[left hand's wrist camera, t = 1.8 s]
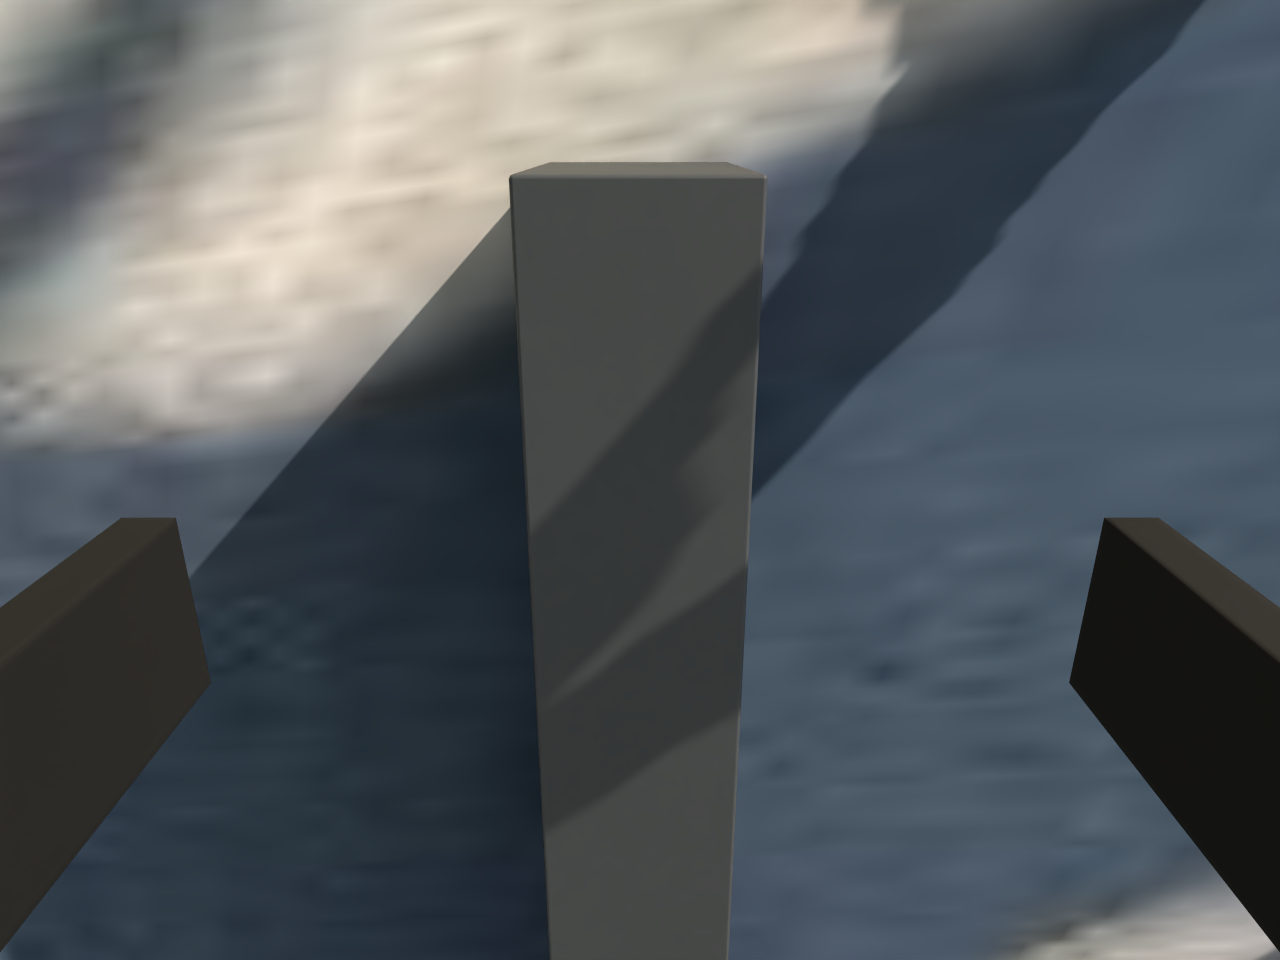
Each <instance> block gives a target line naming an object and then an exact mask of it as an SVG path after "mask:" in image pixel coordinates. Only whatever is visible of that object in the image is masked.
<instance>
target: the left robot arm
mask: <svg viewBox="0 0 1280 960" xmlns="http://www.w3.org/2000/svg"><path fill="white" fill-rule="evenodd" d="M210 683H211V682H210V677H209V672H208V667H207V663H206V658H205V653H204V649H203V644H202V639H201V635H200V630H199V625H198V620H197V616H196V611H195V606H194V602H193V597H192V592H191V587H190V583H189V578H188V573H187V569H186V564H185V559H184V555H183V550H182V545H181V540H180V536H179V531H178V526H177V522H176V518H121V519H119V520H118V521H117V522H115V523H114V524H113V525H111V526H110V527H108V528H107V529H106V530H104V531H103V532H102V533H100V534H99V535H98V536H96V537H95V538H94V539H92V540H91V541H90V542H88V543H87V544H86V545H84V546H83V547H82V548H80V549H79V550H77V551H76V552H75V553H73V554H72V555H71V556H69V557H68V558H67V559H65V560H64V561H63V562H61V563H60V564H59V565H57V566H56V567H55V568H53V569H52V570H51V571H49V572H48V573H46V574H45V575H44V576H42V577H41V578H40V579H38V580H37V581H36V582H34V583H33V584H32V585H30V586H29V587H28V588H26V589H25V590H24V591H22V592H21V593H19V594H18V595H17V596H15V597H14V598H13V599H11V600H10V601H9V602H7V603H6V604H5V605H3V606H2V607H1V608H0V952H1V951H2V949H3V948H4V947H5V945H6V944H7V943H8V942H9V940H10V939H11V938H12V936H13V935H14V934H15V933H16V931H17V930H18V929H19V927H20V926H21V925H22V924H23V922H24V921H25V920H26V919H27V917H28V916H29V915H30V913H31V912H32V911H33V910H34V908H35V907H36V906H37V904H38V903H39V902H40V901H41V899H42V898H43V897H44V895H45V894H46V893H47V892H48V890H49V889H50V888H51V887H52V885H53V884H54V883H55V881H56V880H57V879H58V878H59V876H60V875H61V874H62V872H63V871H64V870H65V869H66V867H67V866H68V865H69V863H70V862H71V861H72V860H73V858H74V857H75V856H76V855H77V853H78V852H79V851H80V849H81V848H82V847H83V846H84V844H85V843H86V842H87V840H88V839H89V838H90V837H91V835H92V834H93V833H94V831H95V830H96V829H97V828H98V826H99V825H100V824H101V823H102V821H103V820H104V819H105V817H106V816H107V815H108V814H109V812H110V811H111V810H112V808H113V807H114V806H115V805H116V803H117V802H118V801H119V799H120V798H121V797H122V796H123V794H124V793H125V792H126V791H127V789H128V788H129V787H130V785H131V784H132V783H133V782H134V780H135V779H136V778H137V776H138V775H139V774H140V773H141V771H142V770H143V769H144V767H145V766H146V765H147V764H148V762H149V761H150V760H151V759H152V757H153V756H154V755H155V753H156V752H157V751H158V750H159V748H160V747H161V746H162V744H163V743H164V742H165V741H166V739H167V738H168V737H169V735H170V734H171V733H172V732H173V730H174V729H175V728H176V727H177V725H178V724H179V723H180V721H181V720H182V719H183V718H184V716H185V715H186V714H187V712H188V711H189V710H190V709H191V707H192V706H193V705H194V704H195V702H196V701H197V700H198V698H199V697H200V696H201V695H202V693H203V692H204V691H205V689H206V688H207V687H208V686H209V684H210ZM1069 683H1070V684H1071V686H1072V687H1073V688H1074V689H1075V691H1076V692H1077V693H1078V695H1079V696H1080V697H1081V698H1082V700H1083V701H1084V702H1085V704H1086V705H1087V706H1088V707H1089V709H1090V710H1091V711H1092V712H1093V714H1094V715H1095V716H1096V718H1097V719H1098V720H1099V721H1100V723H1101V724H1102V725H1103V727H1104V728H1105V729H1106V730H1107V732H1108V733H1109V734H1110V736H1111V737H1112V738H1113V739H1114V741H1115V742H1116V743H1117V744H1118V746H1119V747H1120V748H1121V750H1122V751H1123V752H1124V753H1125V755H1126V756H1127V757H1128V759H1129V760H1130V761H1131V762H1132V764H1133V765H1134V766H1135V767H1136V769H1137V770H1138V771H1139V773H1140V774H1141V775H1142V776H1143V778H1144V779H1145V780H1146V782H1147V783H1148V784H1149V785H1150V787H1151V788H1152V789H1153V791H1154V792H1155V793H1156V794H1157V796H1158V797H1159V798H1160V799H1161V801H1162V802H1163V803H1164V805H1165V806H1166V807H1167V808H1168V810H1169V811H1170V812H1171V814H1172V815H1173V816H1174V817H1175V819H1176V820H1177V821H1178V823H1179V824H1180V825H1181V826H1182V828H1183V829H1184V830H1185V831H1186V833H1187V834H1188V835H1189V837H1190V838H1191V839H1192V840H1193V842H1194V843H1195V844H1196V846H1197V847H1198V848H1199V849H1200V851H1201V852H1202V853H1203V855H1204V856H1205V857H1206V858H1207V860H1208V861H1209V862H1210V863H1211V865H1212V866H1213V867H1214V869H1215V870H1216V871H1217V872H1218V874H1219V875H1220V876H1221V878H1222V879H1223V880H1224V881H1225V883H1226V884H1227V885H1228V887H1229V888H1230V889H1231V890H1232V892H1233V893H1234V894H1235V895H1236V897H1237V898H1238V899H1239V901H1240V902H1241V903H1242V904H1243V906H1244V907H1245V908H1246V910H1247V911H1248V912H1249V913H1250V915H1251V916H1252V917H1253V919H1254V920H1255V921H1256V922H1257V924H1258V925H1259V926H1260V927H1261V929H1262V930H1263V931H1264V933H1265V934H1266V935H1267V936H1268V938H1269V939H1270V940H1271V942H1272V943H1273V944H1274V945H1275V947H1276V948H1277V949H1278V951H1279V952H1280V608H1279V607H1278V606H1277V605H1275V604H1274V603H1273V602H1271V601H1270V600H1269V599H1267V598H1266V597H1265V596H1263V595H1262V594H1261V593H1259V592H1258V591H1256V590H1255V589H1254V588H1252V587H1251V586H1250V585H1248V584H1247V583H1246V582H1244V581H1243V580H1242V579H1240V578H1239V577H1238V576H1236V575H1235V574H1234V573H1232V572H1231V571H1229V570H1228V569H1227V568H1225V567H1224V566H1223V565H1221V564H1220V563H1219V562H1217V561H1216V560H1215V559H1213V558H1212V557H1211V556H1209V555H1208V554H1207V553H1205V552H1204V551H1203V550H1201V549H1200V548H1198V547H1197V546H1196V545H1194V544H1193V543H1192V542H1190V541H1189V540H1188V539H1186V538H1185V537H1184V536H1182V535H1181V534H1180V533H1178V532H1177V531H1176V530H1174V529H1173V528H1172V527H1170V526H1169V525H1167V524H1166V523H1165V522H1163V521H1162V520H1161V519H1159V518H1104V522H1103V526H1102V531H1101V536H1100V540H1099V545H1098V550H1097V555H1096V559H1095V564H1094V569H1093V573H1092V578H1091V583H1090V587H1089V592H1088V597H1087V602H1086V606H1085V611H1084V616H1083V620H1082V625H1081V630H1080V635H1079V639H1078V644H1077V649H1076V653H1075V658H1074V663H1073V667H1072V672H1071V677H1070V682H1069Z"/></svg>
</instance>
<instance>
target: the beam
mask: <svg viewBox="0 0 1280 960" xmlns="http://www.w3.org/2000/svg"><path fill="white" fill-rule="evenodd" d="M509 189H510V209H511V228H512V247H513V266H514V286H515V305H516V324H517V343H518V363H519V382H520V401H521V420H522V440H523V459H524V478H525V498H526V517H527V536H528V555H529V575H530V594H531V613H532V632H533V652H534V671H535V690H536V709H537V729H538V748H539V767H540V786H541V806H542V825H543V844H544V863H545V883H546V902H547V921H548V940H549V960H728V949H729V929H730V910H731V890H732V870H733V850H734V830H735V811H736V791H737V771H738V751H739V731H740V712H741V692H742V672H743V652H744V632H745V613H746V593H747V573H748V553H749V533H750V514H751V494H752V474H753V454H754V434H755V415H756V395H757V375H758V355H759V335H760V316H761V296H762V276H763V256H764V236H765V217H766V197H767V177H766V175H763V174H761V173H758V172H755V171H752V170H749V169H746V168H743V167H740V166H737V165H734V164H731V163H728V162H550V163H547V164H544V165H541V166H537V167H534V168H531V169H528V170H525V171H522V172H519V173H516V174H513V175H511V176H510V178H509Z"/></svg>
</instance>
